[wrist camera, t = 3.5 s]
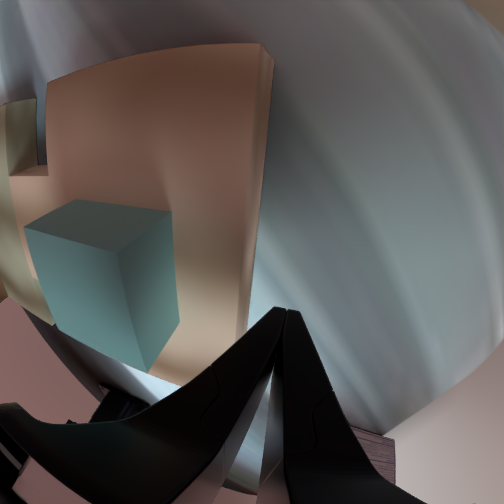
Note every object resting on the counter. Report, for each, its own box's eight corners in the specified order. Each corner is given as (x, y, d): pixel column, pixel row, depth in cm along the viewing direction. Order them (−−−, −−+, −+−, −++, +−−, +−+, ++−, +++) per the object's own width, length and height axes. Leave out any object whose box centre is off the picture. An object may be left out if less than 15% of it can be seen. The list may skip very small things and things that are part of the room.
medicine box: (299, 434, 19) (281, 523, 11) (337, 417, 16) (324, 522, 9) (360, 452, 19) (353, 527, 12) (396, 437, 17) (395, 520, 9)
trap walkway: (242, 368, 16) (215, 445, 11) (18, 278, 19) (-17, 307, 15) (274, 61, 8) (225, 3, 3) (-11, 120, 12) (-59, 137, 7)
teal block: (180, 322, 11) (147, 373, 9) (95, 293, 12) (58, 329, 9) (171, 212, 9) (116, 252, 6) (75, 199, 10) (23, 226, 7)
